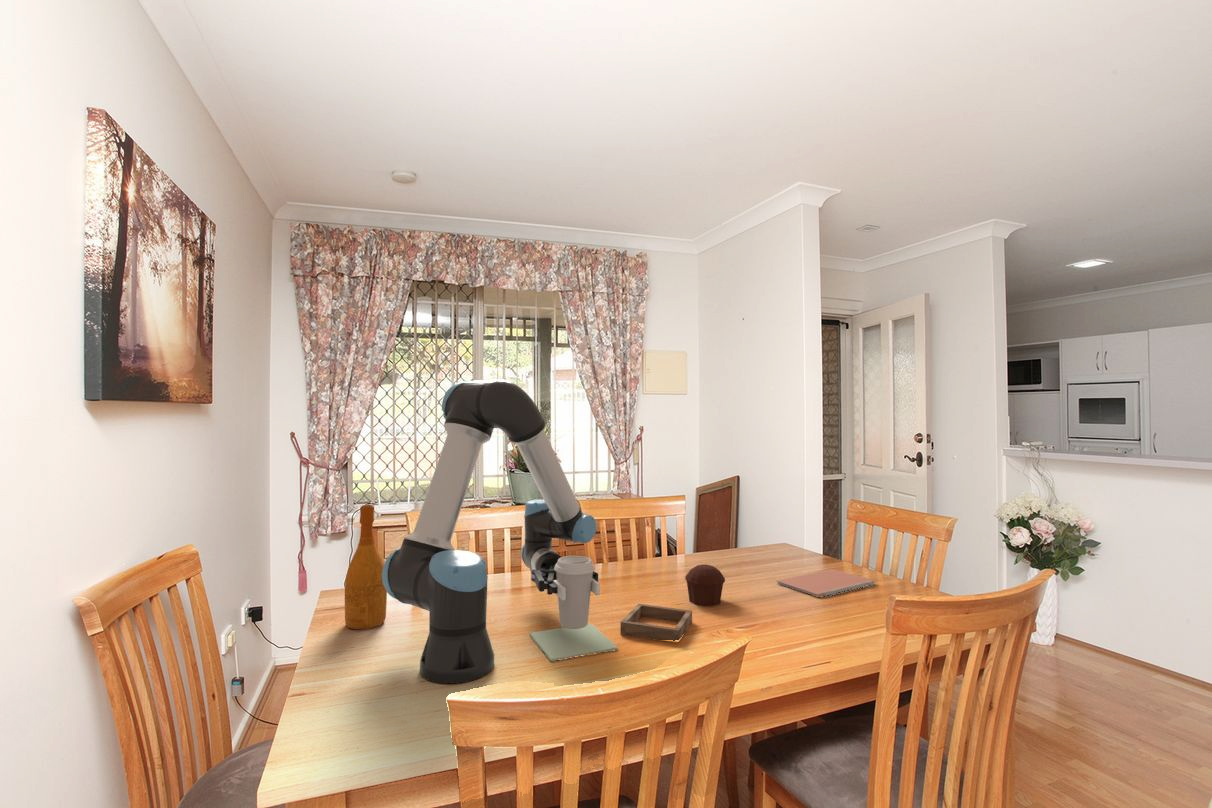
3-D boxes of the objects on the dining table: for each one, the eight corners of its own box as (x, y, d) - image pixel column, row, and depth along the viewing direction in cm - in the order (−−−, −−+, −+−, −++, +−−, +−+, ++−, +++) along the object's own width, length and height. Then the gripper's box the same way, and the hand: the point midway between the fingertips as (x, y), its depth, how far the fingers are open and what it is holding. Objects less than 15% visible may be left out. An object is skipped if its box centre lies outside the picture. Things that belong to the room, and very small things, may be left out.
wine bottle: (393, 617, 150) (394, 502, 150) (374, 632, 140) (375, 508, 141) (357, 616, 151) (358, 501, 151) (336, 630, 141) (337, 507, 142)
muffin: (694, 592, 173) (694, 558, 173) (730, 598, 168) (730, 564, 168) (678, 603, 163) (678, 568, 163) (716, 611, 157) (716, 574, 158)
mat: (617, 650, 131) (617, 647, 131) (550, 662, 125) (550, 659, 125) (590, 625, 146) (590, 623, 146) (529, 635, 139) (529, 632, 139)
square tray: (678, 643, 135) (678, 630, 135) (620, 634, 140) (620, 622, 140) (691, 622, 149) (692, 610, 149) (638, 614, 154) (638, 603, 154)
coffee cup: (557, 633, 130) (558, 566, 130) (550, 618, 139) (551, 555, 139) (598, 629, 132) (599, 564, 132) (588, 614, 142) (589, 553, 142)
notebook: (820, 601, 168) (820, 594, 168) (776, 586, 182) (776, 579, 182) (878, 587, 182) (878, 580, 182) (832, 573, 196) (832, 568, 196)
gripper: (585, 575, 156) (622, 602, 135) (510, 585, 148) (537, 614, 127) (585, 547, 156) (622, 570, 135) (511, 555, 148) (537, 580, 127)
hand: (581, 591), depth 131 cm, fingers closed on coffee cup, 8 cm apart
